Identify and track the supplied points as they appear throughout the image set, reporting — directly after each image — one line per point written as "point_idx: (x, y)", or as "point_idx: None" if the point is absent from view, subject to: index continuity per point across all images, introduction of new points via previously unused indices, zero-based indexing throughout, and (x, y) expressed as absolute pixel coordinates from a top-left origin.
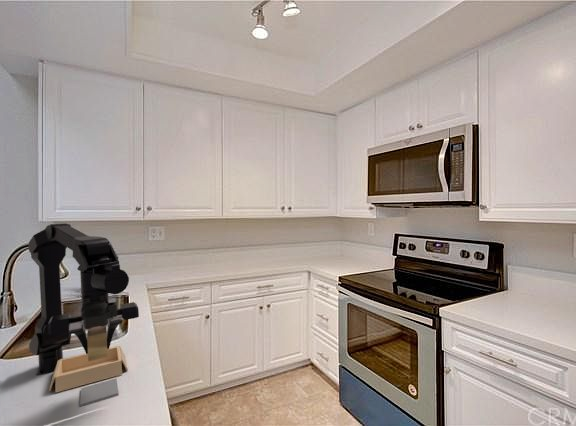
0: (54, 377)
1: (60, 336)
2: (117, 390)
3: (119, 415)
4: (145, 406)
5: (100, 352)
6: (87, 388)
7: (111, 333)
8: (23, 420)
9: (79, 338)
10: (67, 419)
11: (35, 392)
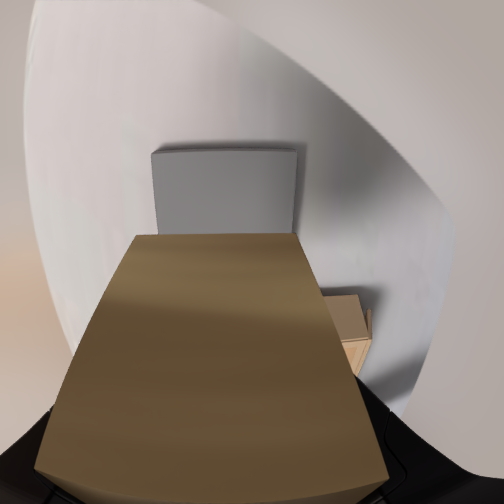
0: (370, 340)
1: None
2: (155, 177)
3: (159, 19)
4: (75, 38)
5: (183, 265)
6: None
7: (41, 441)
8: (433, 198)
9: (431, 453)
10: (334, 105)
11: (388, 329)
